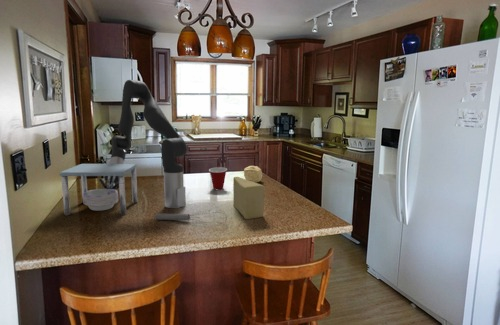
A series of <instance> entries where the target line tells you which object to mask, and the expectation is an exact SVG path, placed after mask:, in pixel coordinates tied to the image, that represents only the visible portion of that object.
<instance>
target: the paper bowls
mask: <svg viewBox="0 0 500 325" xmlns="http://www.w3.org/2000/svg"><path fill="white" fill-rule="evenodd" d="M118 191H119V190H118V189H117V190H116V189H115V190H113V189H105V188H98V189H90V190H87V191H86V192H84V193H83V199H82V203H83V202H84V203H83V205H85V206H88V208H89V209H90V210H91V211H95V212H97V211H98V212H99V211H100V212H101V211H107V210H111V209H112V208H113V207H114V206H115V204H117V203H118V202H119V192H118Z"/></svg>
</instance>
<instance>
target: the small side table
mask: <svg viewBox="0 0 500 325" xmlns="http://www.w3.org/2000/svg"><path fill="white" fill-rule="evenodd" d="M137 166H138V164H137V163H124V164H109V163H81V164H77V165H74V166H73V167H70V168H67V169H65V170H63V171H62V170H61V171H60V172H59V176H60V177H61V178H60V179H61V189H62V199H63V201H62V202H63V213H64V216H70V215H71V204H70V191H69V178H68V177H72V176H73V177H80V183H81V198H82V200H83V193H84V192H86V191H88V184H87V183H88V180H87V177H105V176H118V177H119V188H118V191H119V192H118V197H119V208H120V209H119V212H120V215H121V216H125V215H126V214H127V208H126V206H127V204H126V186H125V184H126V181H125V175H127V174H128V173H130V176H131V177H130V178H131V180H130V181H131V196H132V200H131V201H132V203H133V204H137V203H138V185H137V184H138V182H137ZM124 181H125V182H124ZM82 203H83V204H84V202H83V201H82Z"/></svg>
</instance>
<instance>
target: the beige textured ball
mask: <svg viewBox="0 0 500 325" xmlns="http://www.w3.org/2000/svg"><path fill="white" fill-rule="evenodd" d="M243 176H244V179H245V180H248V181H252V182H255V183H259V182H261V180H262V179H263V172H262V169H261V168H260V167H259V166H257V165H256V166H255V165H249V166H247V167H245V168H243Z"/></svg>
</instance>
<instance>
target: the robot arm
mask: <svg viewBox="0 0 500 325" xmlns="http://www.w3.org/2000/svg"><path fill="white" fill-rule="evenodd" d="M121 98H122V100H121V112H120V113H121V114H120V118H119V123H118V128H117V132H118V133H120V134H122V135H123V136H122V135H113V137H112V138H111V155H110V159H109V161H108V164H125V159H126V155H127V154H126V152H125V151H129V150H130V149H131V148H132V144H133V143H132V131H133V126H134V124H135V122H134V121H135V120H134V119H135V118H134V114H133V111H132V107H131V106H132V104H131V102H132V99H138V100H140V101H141V102H142V104H143V106H144V108H143V118H144V120H145V122H146V123H147V124H148V126H149V127H150V128H151V129H153V131H155V132H156V133H157V134H160V135H161V136H163V137H164V138H165V139H163V140H162V142H161V145H160V146H161V148H160V152H161V162H162V163H161V165H162V168H163V184H164V185H163V188H164V189H163V190H164V207H165V208H167V209H180V208H182V207H185V206H186V204H187V203H186V186H184V165H182V164H180V163H177V162H176V159H175V158H181V157H183V156H184V157H185V155H186V154H187V152H188V146H187V144H186V141H185V140H184V138H182V136H181V135H180V134H179V133H178V131H177V130H176V129H175V128H174V127H173V125H172V124H171V123H170V121H169V119H168V118H167V117H166V115H165V113H164V112H163V110H162V109H161V107H159V105H158V103H157V101H156V100H155V98H154V97H153V95H152V93H151V91H150V89H149V87H148V85H147V83H145V82H144V81H141V80H135V79H128V80H126V81H124V84H123V89H122V97H121ZM124 182H125V183H126V181H125V180H124ZM99 183H101V186H102V187H103V189H113V190H117V191H118V190H119V177H118V176H103V178H100V179H99ZM105 183H106V184H107V185H106V184H105Z"/></svg>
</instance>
